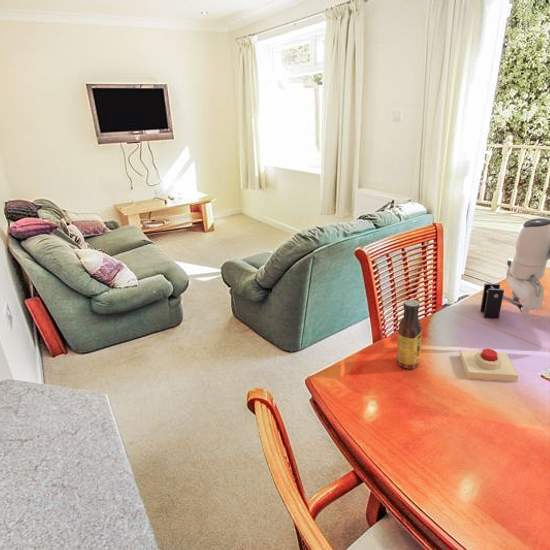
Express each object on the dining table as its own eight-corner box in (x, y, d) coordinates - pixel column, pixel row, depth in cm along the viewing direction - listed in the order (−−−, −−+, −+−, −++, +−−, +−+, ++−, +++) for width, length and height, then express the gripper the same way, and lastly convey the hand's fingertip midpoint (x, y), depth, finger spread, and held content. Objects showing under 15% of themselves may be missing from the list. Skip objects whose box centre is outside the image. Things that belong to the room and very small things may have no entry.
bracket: (503, 311, 130) (509, 281, 125) (513, 325, 122) (519, 293, 117) (466, 310, 133) (470, 280, 128) (472, 324, 125) (477, 292, 120)
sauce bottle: (420, 371, 105) (426, 309, 97) (397, 370, 107) (401, 309, 99) (417, 356, 111) (422, 297, 103) (395, 356, 113) (398, 297, 104)
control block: (504, 358, 107) (507, 347, 106) (517, 381, 98) (520, 369, 97) (459, 356, 110) (461, 344, 108) (467, 378, 101) (469, 366, 100)
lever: (516, 305, 126) (521, 300, 125) (522, 313, 122) (527, 307, 121) (484, 289, 126) (489, 283, 125) (489, 295, 122) (494, 290, 120)
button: (494, 354, 104) (495, 349, 103) (498, 362, 101) (499, 356, 100) (479, 353, 105) (480, 348, 104) (483, 361, 102) (484, 356, 101)
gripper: (553, 284, 108) (543, 325, 114) (526, 257, 126) (518, 294, 132) (529, 283, 110) (520, 324, 115) (505, 257, 128) (499, 293, 133)
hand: (519, 307), depth 124 cm, fingers open, 6 cm apart
